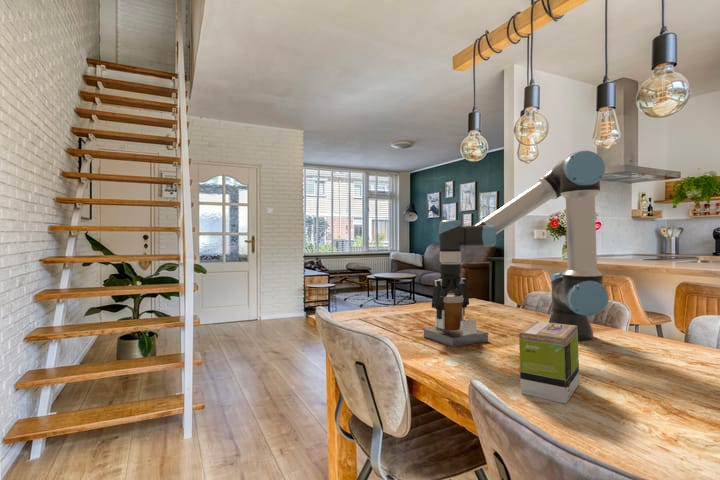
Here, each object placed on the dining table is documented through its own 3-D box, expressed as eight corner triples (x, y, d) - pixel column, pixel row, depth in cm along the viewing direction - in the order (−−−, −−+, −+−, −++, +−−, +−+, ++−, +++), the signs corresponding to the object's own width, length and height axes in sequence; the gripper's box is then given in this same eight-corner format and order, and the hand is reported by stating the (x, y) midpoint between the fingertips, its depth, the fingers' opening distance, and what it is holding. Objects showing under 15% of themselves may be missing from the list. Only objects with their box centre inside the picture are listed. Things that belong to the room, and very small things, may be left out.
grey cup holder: (488, 341, 136) (487, 318, 136) (453, 347, 129) (452, 323, 129) (456, 331, 151) (456, 311, 151) (423, 336, 143) (423, 315, 143)
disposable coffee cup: (462, 325, 143) (461, 293, 143) (466, 331, 134) (466, 297, 134) (436, 325, 144) (435, 293, 144) (438, 331, 135) (438, 297, 135)
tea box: (537, 376, 102) (536, 319, 102) (580, 384, 95) (579, 324, 95) (518, 394, 90) (518, 330, 90) (566, 405, 84) (566, 337, 84)
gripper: (464, 261, 147) (465, 321, 147) (420, 263, 137) (420, 327, 137) (479, 262, 140) (480, 325, 140) (433, 265, 131) (434, 332, 131)
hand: (450, 326), depth 139 cm, fingers closed on disposable coffee cup, 8 cm apart
